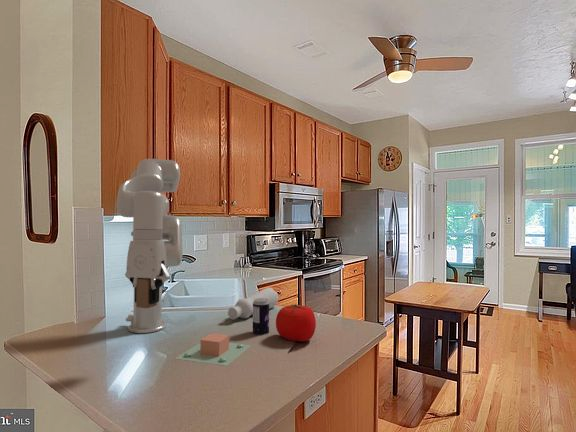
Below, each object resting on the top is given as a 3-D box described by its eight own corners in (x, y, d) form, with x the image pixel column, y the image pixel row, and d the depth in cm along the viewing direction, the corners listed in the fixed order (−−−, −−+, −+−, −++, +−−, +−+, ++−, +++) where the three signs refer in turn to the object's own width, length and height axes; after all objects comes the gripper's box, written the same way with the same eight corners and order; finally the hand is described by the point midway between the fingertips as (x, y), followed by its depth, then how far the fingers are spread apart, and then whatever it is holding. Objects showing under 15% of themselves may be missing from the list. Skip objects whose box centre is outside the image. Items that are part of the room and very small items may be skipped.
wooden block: (157, 305, 95) (158, 276, 95) (147, 309, 91) (147, 279, 92) (146, 304, 97) (146, 275, 97) (135, 307, 93) (135, 278, 93)
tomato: (321, 336, 116) (321, 302, 117) (306, 349, 104) (306, 311, 104) (287, 331, 122) (287, 298, 122) (269, 343, 109) (269, 306, 110)
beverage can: (266, 338, 114) (266, 302, 115) (250, 336, 115) (250, 301, 116) (270, 332, 120) (271, 298, 120) (255, 331, 121) (255, 297, 121)
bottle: (260, 297, 162) (219, 314, 135) (269, 282, 159) (229, 296, 133) (274, 310, 158) (235, 330, 132) (283, 295, 156) (246, 312, 129)
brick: (200, 353, 97) (200, 339, 98) (211, 346, 103) (211, 333, 103) (219, 356, 96) (219, 342, 96) (229, 349, 101) (229, 335, 101)
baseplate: (174, 362, 94) (174, 356, 94) (205, 342, 109) (205, 337, 109) (226, 369, 89) (226, 363, 89) (251, 348, 105) (251, 343, 105)
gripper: (112, 235, 93) (111, 302, 93) (164, 237, 88) (163, 308, 88) (132, 234, 100) (131, 297, 100) (182, 236, 95) (181, 301, 95)
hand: (146, 301), depth 94 cm, fingers closed on wooden block, 4 cm apart
